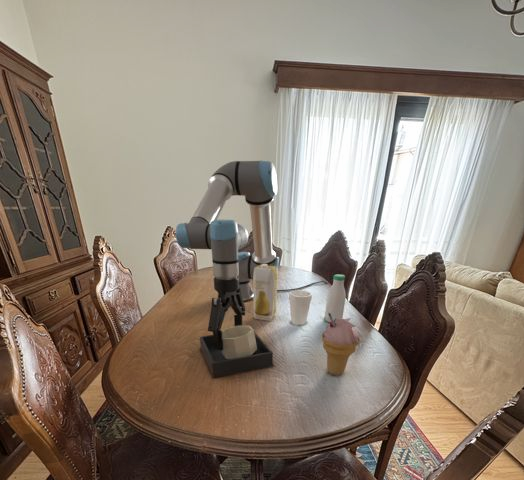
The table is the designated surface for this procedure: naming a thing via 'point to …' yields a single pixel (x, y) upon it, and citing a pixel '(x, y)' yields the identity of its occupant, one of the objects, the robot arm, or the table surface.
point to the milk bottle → (336, 299)
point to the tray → (235, 365)
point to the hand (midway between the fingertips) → (229, 340)
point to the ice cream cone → (339, 344)
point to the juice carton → (264, 292)
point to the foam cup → (299, 306)
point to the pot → (238, 342)
